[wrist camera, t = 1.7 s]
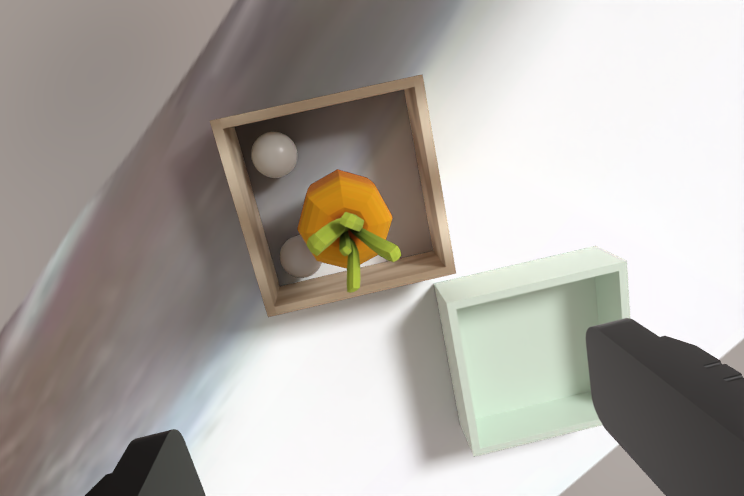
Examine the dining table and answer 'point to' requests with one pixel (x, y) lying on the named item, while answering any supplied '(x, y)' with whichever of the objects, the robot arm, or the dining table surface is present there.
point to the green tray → (528, 344)
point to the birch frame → (371, 276)
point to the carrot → (346, 223)
